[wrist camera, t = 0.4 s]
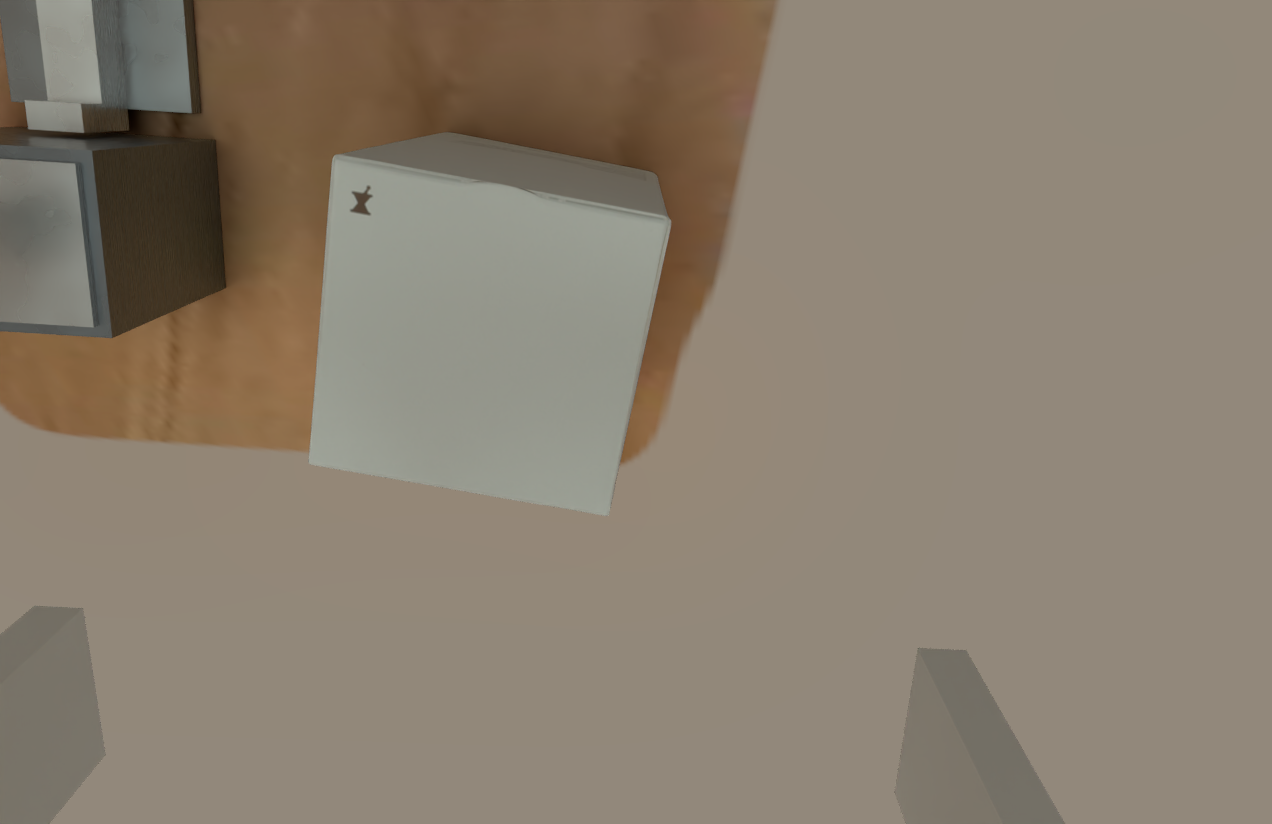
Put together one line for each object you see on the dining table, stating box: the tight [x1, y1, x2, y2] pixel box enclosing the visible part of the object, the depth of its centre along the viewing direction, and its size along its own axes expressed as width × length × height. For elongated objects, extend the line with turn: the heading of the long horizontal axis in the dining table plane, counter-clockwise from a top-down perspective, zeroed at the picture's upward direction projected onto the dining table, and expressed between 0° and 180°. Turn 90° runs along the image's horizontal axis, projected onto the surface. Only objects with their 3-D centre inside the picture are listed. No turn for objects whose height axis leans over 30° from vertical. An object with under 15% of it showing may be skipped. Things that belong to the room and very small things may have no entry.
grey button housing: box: [0, 127, 226, 338], centre depth 35 cm, size 6×8×9 cm
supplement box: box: [308, 132, 671, 516], centre depth 33 cm, size 9×9×15 cm
